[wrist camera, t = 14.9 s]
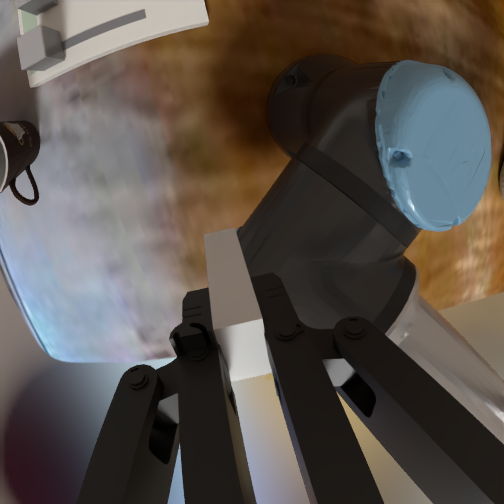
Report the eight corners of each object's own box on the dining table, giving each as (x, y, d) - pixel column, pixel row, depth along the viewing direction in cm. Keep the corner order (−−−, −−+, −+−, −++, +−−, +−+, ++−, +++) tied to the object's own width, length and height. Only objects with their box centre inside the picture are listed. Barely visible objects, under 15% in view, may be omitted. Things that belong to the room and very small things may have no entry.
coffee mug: (-9, 130, 27) (-54, 146, 18) (36, 100, 27) (-6, 108, 18) (17, 204, 33) (-19, 237, 24) (63, 182, 33) (30, 211, 24)
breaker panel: (187, -62, 20) (187, -70, 18) (207, 25, 28) (209, 20, 26) (23, 0, 19) (16, -3, 17) (37, 87, 26) (29, 87, 24)
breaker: (59, 31, 22) (40, 24, 17) (65, 60, 24) (45, 56, 19) (38, 43, 22) (16, 38, 17) (43, 71, 24) (21, 69, 19)
